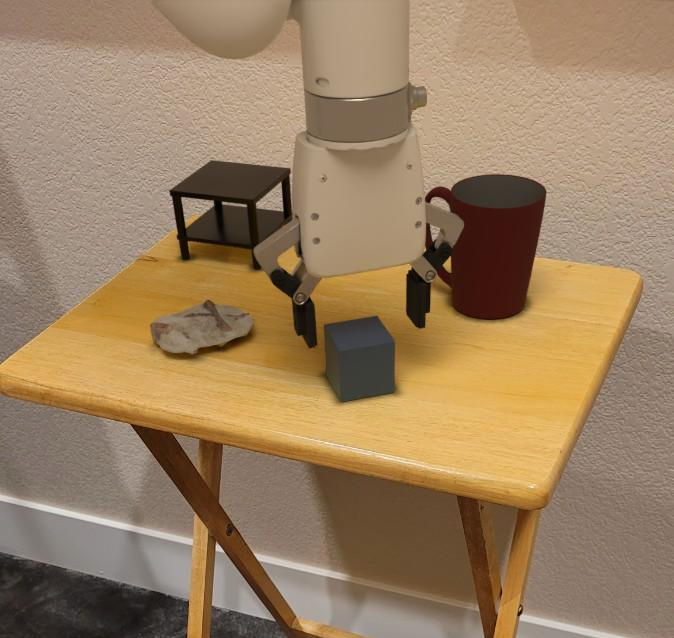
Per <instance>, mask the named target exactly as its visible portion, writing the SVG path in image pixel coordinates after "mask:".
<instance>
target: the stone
mask: <svg viewBox="0 0 674 638" xmlns="http://www.w3.org/2000/svg"><path fill="white" fill-rule="evenodd" d="M254 325H255V318H254V317H253V316H251V312H249V311H248V312H243V310H242V309H241V308H240V307H237V306H235V305H229V304H216V303H214V301H213V300H211V299H209V298H206V299H205V301H204V302H202V303H199V304H196V305H193V306H191V307H188V308H187V309H184V310H182V311H180V312H177V313H172V314H164V315H161V316H159V317H157V318H156V319H154V321H152V322H150V324H149V327H150V330H149V331H150V334H151V337H152V343H153V344H155V345H158V346H159V347H160V349H161V350H162V351H164V352H167V353H170V354H172V353H173V354H180V355H183V354H184V353H187V354H190V355H195V354H197V353H198V352H199V351H198V349H200V348H209V347H212V346H218V347H219V348H223V347H224V346H225V345H226V344H227V342H231V341H232V340H234V339H237V338H241V337H246V336H248V334H249V332H250V331H251V329H252V328H253V326H254Z"/></svg>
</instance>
